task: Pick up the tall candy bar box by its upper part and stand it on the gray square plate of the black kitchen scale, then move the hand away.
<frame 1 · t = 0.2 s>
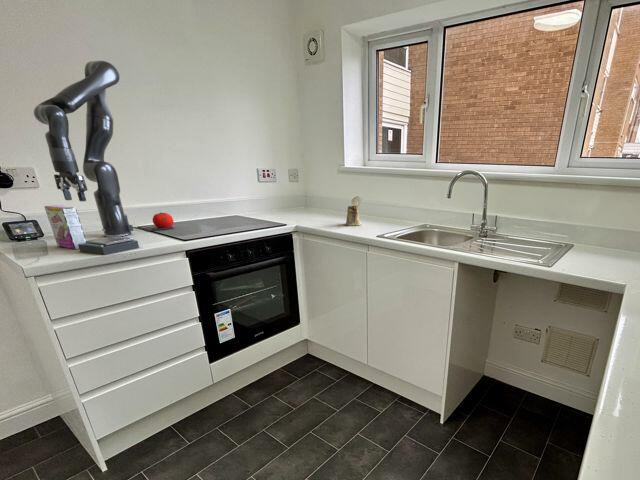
hand: (75, 200, 149), 17 cm above the countertop, tool pointing down, fingers open, 8 cm apart
tomato: (165, 228, 187), on the countertop
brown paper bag: (354, 225, 216), on the countertop
candy bar box: (72, 247, 144), on the countertop
scale: (110, 249, 142), on the countertop
gray square plate: (110, 240, 142), point 4 cm above the countertop, slide at 0.0 cm
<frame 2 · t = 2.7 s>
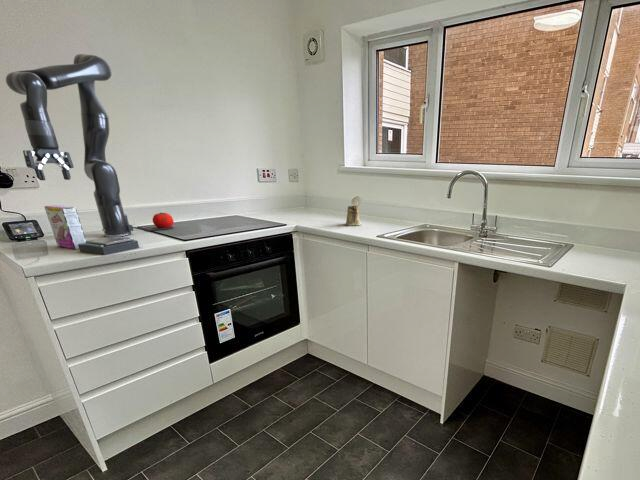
hand: (55, 179, 137), 26 cm above the countertop, tool pointing down, fingers open, 8 cm apart
nothing on the countertop moved.
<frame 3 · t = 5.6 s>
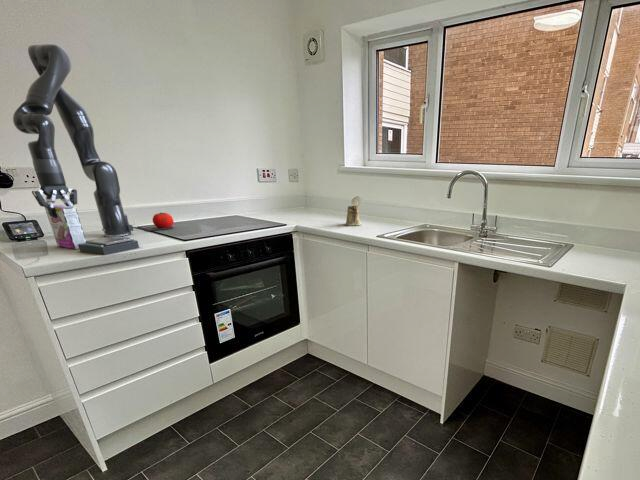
hand: (63, 216, 139), 12 cm above the countertop, tool pointing down, fingers closed on candy bar box, 5 cm apart
candy bar box: (72, 247, 144), on the countertop, touching gripper
everything else where it was.
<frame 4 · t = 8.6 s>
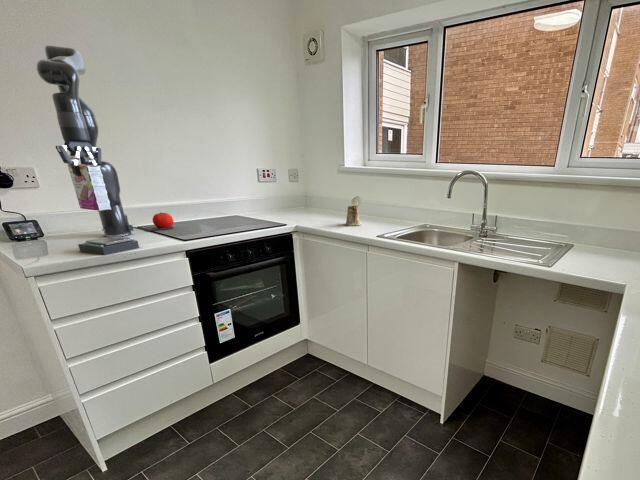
hand: (86, 175, 133), 28 cm above the countertop, tool pointing down, fingers closed on candy bar box, 5 cm apart
candy bar box: (96, 209, 137), point 16 cm above the countertop, touching gripper
everything else where it was.
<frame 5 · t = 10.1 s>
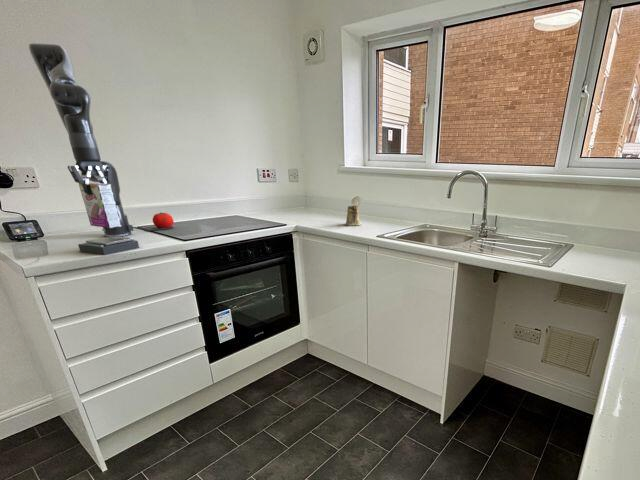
hand: (97, 194, 135), 22 cm above the countertop, tool pointing down, fingers closed on candy bar box, 5 cm apart
candy bar box: (106, 226, 140), point 9 cm above the countertop, touching gripper
everything else where it was.
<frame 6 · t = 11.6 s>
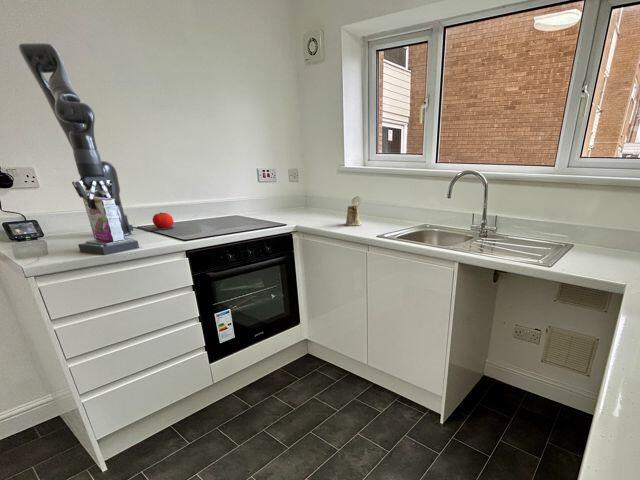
hand: (101, 208, 137), 16 cm above the countertop, tool pointing down, fingers closed on candy bar box, 5 cm apart
candy bar box: (109, 240, 142), point 4 cm above the countertop, touching gripper, gray square plate
gray square plate: (110, 240, 142), point 3 cm above the countertop, slide at -0.2 cm, touching candy bar box
everything else where it was.
when the fingers open (16 cm above the countertop, at t = 11.9 s): candy bar box stays where it is, resting on gray square plate.
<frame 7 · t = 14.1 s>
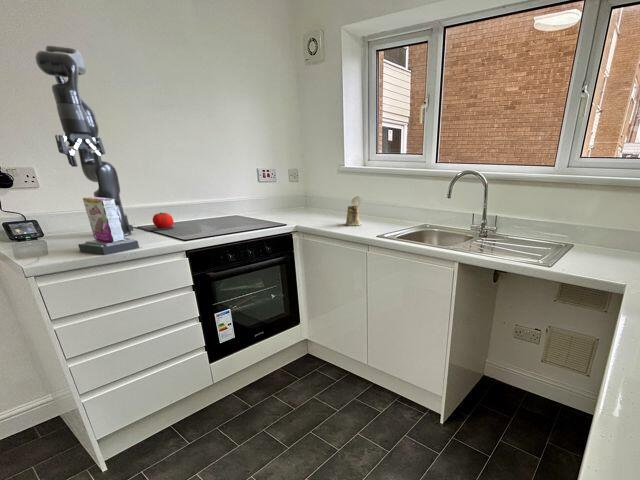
hand: (87, 166, 132), 32 cm above the countertop, tool pointing down, fingers open, 8 cm apart
candy bar box: (110, 240, 142), point 4 cm above the countertop, touching gray square plate
everything else where it was.
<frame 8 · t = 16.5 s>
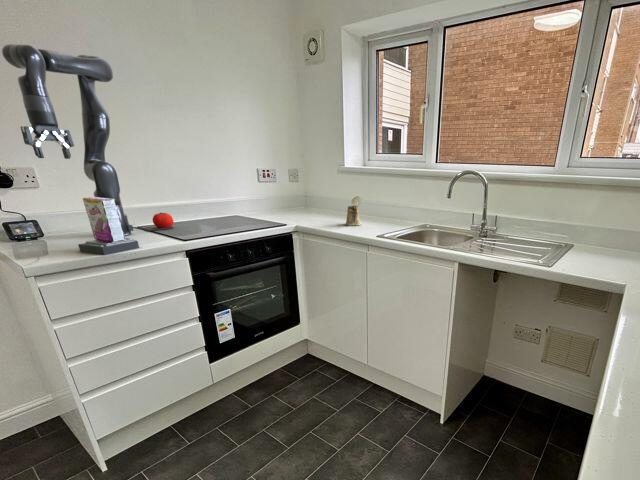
hand: (54, 158, 133), 34 cm above the countertop, tool pointing down, fingers open, 8 cm apart
nothing on the countertop moved.
at the end: candy bar box inside the target area on the scale (0.2 cm from its centre), point 3.6 cm above the scale's base; candy bar box tilted 0°; the gripper is holding nothing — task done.
